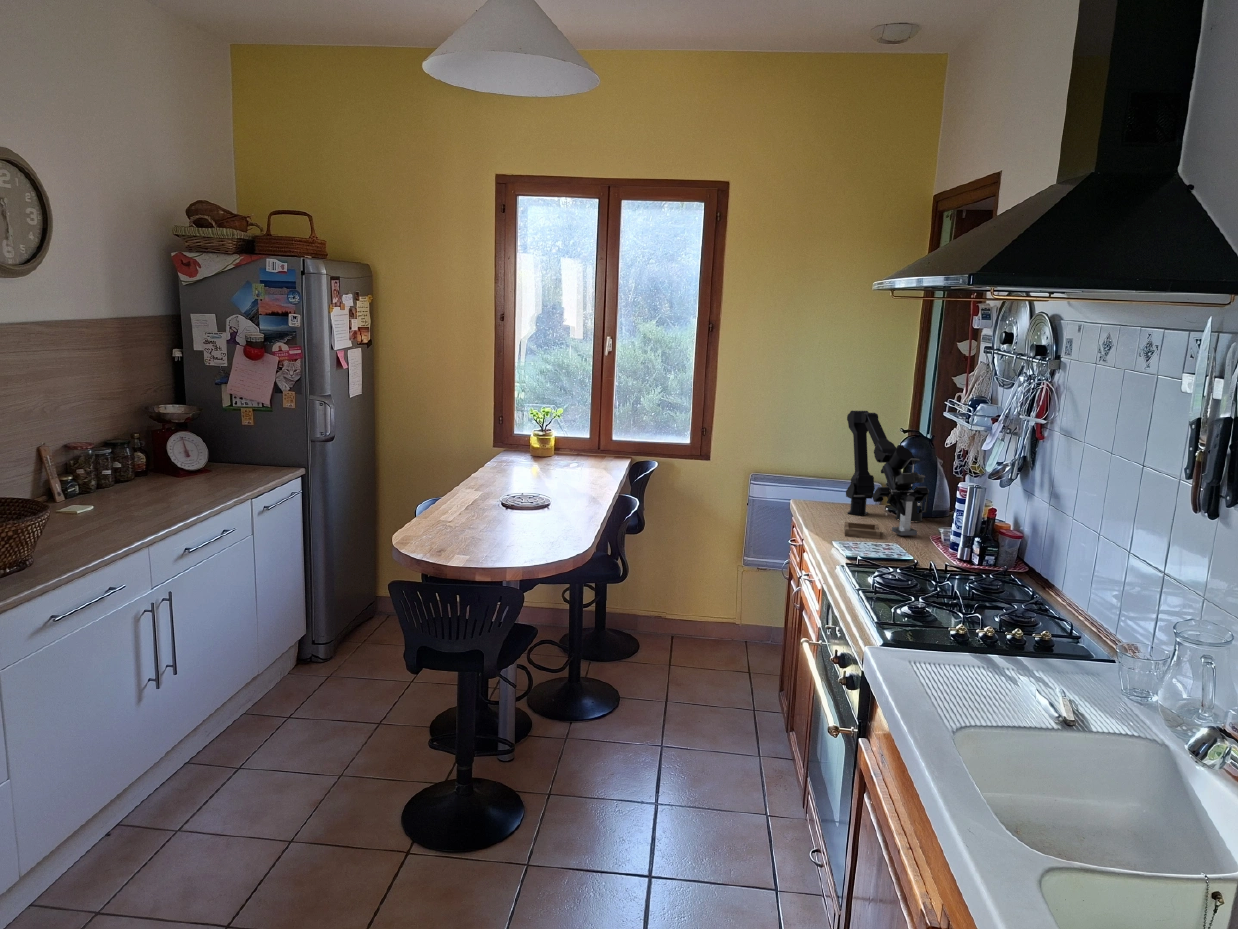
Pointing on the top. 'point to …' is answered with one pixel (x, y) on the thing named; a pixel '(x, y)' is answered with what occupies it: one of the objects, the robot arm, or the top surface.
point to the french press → (916, 515)
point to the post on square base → (905, 517)
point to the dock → (862, 530)
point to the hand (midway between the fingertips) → (907, 515)
